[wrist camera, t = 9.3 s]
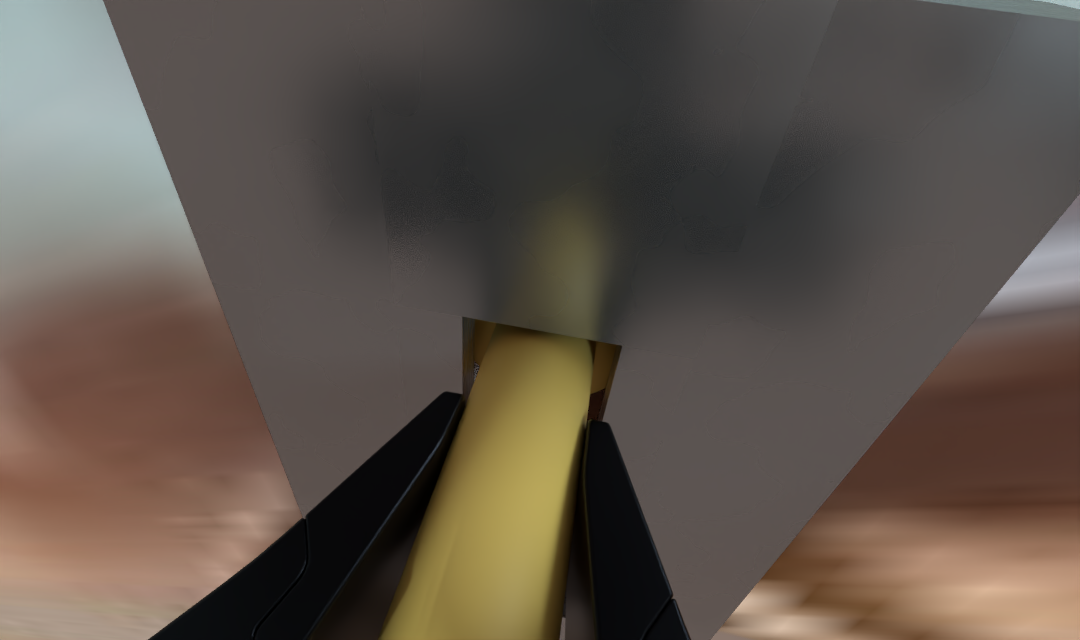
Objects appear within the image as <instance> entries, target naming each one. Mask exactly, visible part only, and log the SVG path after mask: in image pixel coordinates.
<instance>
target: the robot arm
mask: <svg viewBox="0 0 1080 640" xmlns="http://www.w3.org/2000/svg"><path fill="white" fill-rule="evenodd" d="M464 408H465V396H464V395H463V394H460V393H454V392H449V391H445V392H443V393H441V394H440V395H439V396H438V397H437V398H436V399H435V400H433V401H432V402H431V403H430V404H429V405H428V406H427V407H426V408H425V409H423V410H422V411H421V412H420V413H419V414H418V415H417V416H416V417H414V418H413V419H412V420H411V421H410V422H409V423H408V424H407V425H406V426H404V427H403V428H402V429H401V430H400V431H399V432H398V433H397V434H395V435H394V436H393V437H392V438H391V439H390V440H389V441H388V442H387V443H385V444H384V445H383V446H382V447H381V448H380V449H379V450H378V451H376V452H375V453H374V454H373V455H372V456H371V457H370V458H369V459H368V460H366V461H365V462H364V463H363V464H362V465H361V466H360V467H359V468H358V469H356V470H355V471H354V472H353V473H352V474H351V475H350V476H349V477H347V478H346V479H345V480H344V481H343V482H342V483H341V484H340V485H339V486H337V487H336V488H335V489H334V490H333V491H332V492H331V493H330V494H328V495H327V496H326V497H325V498H324V499H323V500H322V501H321V502H320V503H318V504H317V505H316V506H315V507H314V508H313V509H312V510H311V511H309V512H308V513H307V514H306V515H305V519H304V518H302V519H300V520H299V521H298V522H297V523H296V524H295V525H294V526H292V527H291V528H290V529H289V530H288V531H287V532H286V533H285V534H284V535H282V536H281V537H280V538H279V539H278V540H277V541H275V542H274V543H273V544H272V545H271V546H270V547H268V548H267V549H266V550H265V551H264V552H262V553H261V554H260V555H259V556H258V557H257V558H255V559H254V560H253V561H251V562H250V563H249V564H248V565H246V566H245V567H244V568H242V569H241V570H240V571H239V572H237V573H236V574H235V575H233V576H232V577H231V578H230V579H228V580H227V581H226V582H224V583H223V584H222V585H220V586H219V587H218V588H216V589H215V590H214V591H212V592H211V593H210V594H208V595H207V596H206V597H204V598H203V599H202V600H200V601H199V602H198V603H196V604H195V605H194V606H192V607H191V608H190V609H188V610H187V611H186V612H184V613H183V614H182V615H180V616H179V617H178V618H176V619H175V620H174V621H172V622H171V623H170V624H168V625H167V626H166V627H164V628H163V629H162V630H160V631H159V632H158V633H156V634H155V635H154V636H152V637H151V638H150V639H148V640H377V639H378V637H379V634H380V631H381V629H382V626H383V624H384V621H385V618H386V616H387V613H388V610H389V608H390V605H391V602H392V600H393V597H394V594H395V592H396V589H397V586H398V584H399V581H400V578H401V576H402V573H403V570H404V568H405V565H406V562H407V560H408V557H409V554H410V552H411V549H412V546H413V544H414V541H415V538H416V536H417V533H418V530H419V528H420V525H421V522H422V520H423V517H424V514H425V512H426V509H427V506H428V504H429V501H430V498H431V496H432V493H433V491H434V488H435V485H436V483H437V480H438V477H439V475H440V472H441V469H442V467H443V464H444V461H445V459H446V456H447V453H448V451H449V448H450V445H451V443H452V440H453V437H454V435H455V432H456V429H457V427H458V424H459V421H460V419H461V416H462V413H463V411H464ZM673 596H674V594H673V591H672V589H671V586H670V583H669V581H668V578H667V575H666V573H665V570H664V567H663V565H662V562H661V559H660V557H659V554H658V551H657V549H656V546H655V543H654V541H653V538H652V535H651V533H650V530H649V527H648V525H647V522H646V519H645V517H644V514H643V511H642V509H641V506H640V503H639V501H638V498H637V495H636V493H635V490H634V487H633V485H632V482H631V479H630V476H629V474H628V471H627V468H626V466H625V463H624V460H623V458H622V455H621V452H620V450H619V447H618V444H617V442H616V439H615V436H614V434H613V431H612V428H611V426H610V424H609V423H607V422H604V421H598V420H593V419H590V420H588V422H587V425H586V429H585V435H584V443H583V451H582V459H581V467H580V475H579V483H578V492H577V503H576V511H575V519H574V527H573V535H572V543H571V552H570V560H569V568H568V576H567V587H566V619H565V640H691V638H690V635H689V633H688V630H687V628H686V625H685V623H684V620H683V617H682V615H681V612H680V609H679V607H678V604H677V601H676V600H675V599H672V598H673Z"/></svg>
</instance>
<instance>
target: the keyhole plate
mask: <svg viewBox="0 0 1080 640" xmlns="http://www.w3.org/2000/svg"><path fill="white" fill-rule="evenodd" d="M103 1H104V4H105V6H106V9H107V12H108V14H109V17H110V19H111V22H112V25H113V27H114V30H115V32H116V35H117V38H118V40H119V43H120V45H121V48H122V50H123V53H124V56H125V58H126V61H127V63H128V66H129V69H130V71H131V74H132V76H133V79H134V82H135V84H136V87H137V89H138V92H139V95H140V97H141V100H142V102H143V105H144V107H145V110H146V113H147V115H148V118H149V120H150V123H151V126H152V128H153V131H154V133H155V136H156V139H157V141H158V144H159V146H160V149H161V151H162V154H163V157H164V159H165V162H166V164H167V167H168V170H169V172H170V175H171V177H172V180H173V183H174V185H175V188H176V190H177V193H178V195H179V198H180V201H181V203H182V206H183V208H184V211H185V214H186V216H187V219H188V221H189V224H190V227H191V229H192V232H193V234H194V237H195V239H196V242H197V245H198V247H199V250H200V252H201V255H202V258H203V260H204V263H205V265H206V268H207V271H208V273H209V276H210V278H211V281H212V284H213V286H214V289H215V291H216V294H217V296H218V299H219V302H220V304H221V307H222V309H223V312H224V315H225V317H226V320H227V322H228V325H229V328H230V330H231V333H232V335H233V338H234V340H235V343H236V346H237V348H238V351H239V353H240V356H241V359H242V361H243V364H244V366H245V369H246V372H247V374H248V377H249V379H250V382H251V384H252V387H253V390H254V392H255V395H256V397H257V400H258V403H259V405H260V408H261V410H262V413H263V416H264V418H265V421H266V423H267V426H268V428H269V431H270V434H271V436H272V439H273V441H274V444H275V447H276V449H277V452H278V454H279V457H280V460H281V462H282V465H283V467H284V470H285V473H286V475H287V478H288V480H289V483H290V485H291V488H292V491H293V493H294V496H295V498H296V501H297V504H298V506H299V509H300V511H301V514H302V517H303V518H304V519H305V515H306V514H307V513H308V512H309V511H311V510H312V509H313V508H314V507H315V506H316V505H317V504H318V503H320V502H321V501H322V500H323V499H324V498H325V497H326V496H327V495H328V494H330V493H331V492H332V491H333V490H334V489H335V488H336V487H337V486H339V485H340V484H341V483H342V482H343V481H344V480H345V479H346V478H347V477H349V476H350V475H351V474H352V473H353V472H354V471H355V470H356V469H358V468H359V467H360V466H361V465H362V464H363V463H364V462H365V461H366V460H368V459H369V458H370V457H371V456H372V455H373V454H374V453H375V452H376V451H378V450H379V449H380V448H381V447H382V446H383V445H384V444H385V443H387V442H388V441H389V440H390V439H391V438H392V437H393V436H394V435H395V434H397V433H398V432H399V431H400V430H401V429H402V428H403V427H404V426H406V425H407V424H408V423H409V422H410V421H411V420H412V419H413V418H414V417H416V416H417V415H418V414H419V413H420V412H421V411H422V410H423V409H425V408H426V407H427V406H428V405H429V404H430V403H431V402H432V401H433V400H435V399H436V398H437V397H438V396H439V395H440V394H441V393H443V392H445V391H449V392H454V393H460V394H463V395H464V396H465V405H466V403H467V400H468V397H469V395H470V392H471V389H472V387H473V384H474V350H475V319H478V320H484V321H489V322H495V323H500V324H506V325H511V326H517V327H522V328H528V329H533V330H538V331H544V332H549V333H555V334H560V335H566V336H571V337H577V338H582V339H588V340H593V341H599V342H604V343H610V344H615V345H617V346H616V349H615V353H614V357H613V361H612V365H611V369H610V373H609V377H608V381H607V384H606V388H605V392H604V396H603V400H602V404H601V408H600V412H599V416H598V421H604V422H607V423H609V424H610V426H611V428H612V431H613V434H614V436H615V439H616V442H617V444H618V447H619V450H620V452H621V455H622V458H623V460H624V463H625V466H626V468H627V471H628V474H629V476H630V479H631V482H632V485H633V487H634V490H635V493H636V495H637V498H638V501H639V503H640V506H641V509H642V511H643V514H644V517H645V519H646V522H647V525H648V527H649V530H650V533H651V535H652V538H653V541H654V543H655V546H656V549H657V551H658V554H659V557H660V559H661V562H662V565H663V567H664V570H665V573H666V575H667V578H668V581H669V583H670V586H671V589H672V591H673V594H674V596H673V598H672V599H675V600H676V601H677V604H678V607H679V609H680V612H681V615H682V617H683V620H684V623H685V625H686V628H687V630H688V633H689V635H690V638H691V640H711V638H712V637H713V636H714V635H715V633H716V632H717V631H718V630H719V629H720V627H721V626H722V625H723V624H724V623H725V621H726V620H727V619H728V618H729V617H730V615H731V614H732V613H733V612H734V611H735V609H736V608H737V607H738V606H739V605H740V603H741V602H742V601H743V600H744V598H745V597H746V596H747V595H748V594H749V592H750V591H751V590H752V589H753V588H754V586H755V585H756V584H757V583H758V582H759V580H760V579H761V578H762V577H763V576H764V574H765V573H766V572H767V571H768V569H769V568H770V567H771V566H772V565H773V563H774V562H775V561H776V560H777V559H778V557H779V556H780V555H781V554H782V553H783V551H784V550H785V549H786V548H787V547H788V545H789V544H790V543H791V542H792V541H793V539H794V538H795V537H796V536H797V534H798V533H799V532H800V531H801V530H802V528H803V527H804V526H805V525H806V524H807V522H808V521H809V520H810V519H811V518H812V516H813V515H814V514H815V513H816V512H817V510H818V509H819V508H820V507H821V505H822V504H823V503H824V502H825V501H826V499H827V498H828V497H829V496H830V495H831V493H832V492H833V491H834V490H835V489H836V487H837V486H838V485H839V484H840V483H841V481H842V480H843V479H844V478H845V476H846V475H847V474H848V473H849V472H850V470H851V469H852V468H853V467H854V466H855V464H856V463H857V462H858V461H859V460H860V458H861V457H862V456H863V455H864V454H865V452H866V451H867V450H868V449H869V448H870V446H871V445H872V444H873V443H874V441H875V440H876V439H877V438H878V437H879V435H880V434H881V433H882V432H883V431H884V429H885V428H886V427H887V426H888V425H889V423H890V422H891V421H892V420H893V419H894V417H895V416H896V415H897V414H898V412H899V411H900V410H901V409H902V408H903V406H904V405H905V404H906V403H907V402H908V400H909V399H910V398H911V397H912V396H913V394H914V393H915V392H916V391H917V390H918V388H919V387H920V386H921V385H922V383H923V382H924V381H925V380H926V379H927V377H928V376H929V375H930V374H931V373H932V371H933V370H934V369H935V368H936V367H937V365H938V364H939V363H940V362H941V361H942V359H943V358H944V357H945V356H946V355H947V353H948V352H949V351H950V350H951V348H952V347H953V346H954V345H955V344H956V342H957V341H958V340H959V339H960V338H961V336H962V335H963V334H964V333H965V332H966V330H967V329H968V328H969V327H970V326H971V324H972V323H973V322H974V321H975V319H976V318H977V317H978V316H979V315H980V313H981V312H982V311H983V310H984V309H985V307H986V306H987V305H988V304H989V303H990V301H991V300H992V299H993V298H994V297H995V295H996V294H997V293H998V292H999V290H1000V289H1001V288H1002V287H1003V286H1004V284H1005V283H1006V282H1007V281H1008V280H1009V278H1010V277H1011V276H1012V275H1013V274H1014V272H1015V271H1016V270H1017V269H1018V268H1019V266H1020V265H1021V264H1022V263H1023V261H1024V260H1025V259H1026V258H1027V257H1028V255H1029V254H1030V253H1031V252H1032V251H1033V249H1034V248H1035V247H1036V246H1037V245H1038V243H1039V242H1040V241H1041V240H1042V239H1043V237H1044V236H1045V235H1046V234H1047V233H1048V231H1049V230H1050V229H1051V228H1052V226H1053V225H1054V224H1055V223H1056V222H1057V220H1058V219H1059V218H1060V217H1061V216H1062V214H1063V213H1064V212H1065V211H1066V210H1067V208H1068V207H1069V206H1070V205H1071V204H1072V202H1073V201H1074V200H1075V199H1076V197H1077V196H1078V195H1079V194H1080V9H1076V8H1071V7H1067V6H1062V5H1058V4H1053V3H1049V2H1042V1H1034V0H103ZM566 587H567V584H566ZM565 619H566V592H565V600H564V608H563V616H562V624H561V632H560V640H565Z"/></svg>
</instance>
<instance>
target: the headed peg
mask: <svg viewBox="0 0 1080 640" xmlns="http://www.w3.org/2000/svg"><path fill="white" fill-rule="evenodd" d="M616 346H617V345H615V344H610V343H604V342H599V341H593V340H588V339H582V338H577V337H571V336H566V335H560V334H555V333H549V332H544V331H538V330H533V329H528V328H522V327H517V326H511V325H506V324H500V323H495V322H489V321H484V320H478V319H475V350H474V361H475V362H476V363H477V364H478V365H479V366H480V368H479V371H478V373H477V376H476V379H475V381H474V384H473V387H472V389H471V392H470V395H469V397H468V400H467V403H466V405H465V408H464V411H463V413H462V416H461V419H460V421H459V424H458V427H457V429H456V432H455V435H454V437H453V440H452V443H451V445H450V448H449V451H448V453H447V456H446V459H445V461H444V464H443V467H442V469H441V472H440V475H439V477H438V480H437V483H436V485H435V488H434V491H433V493H432V496H431V498H430V501H429V504H428V506H427V509H426V512H425V514H424V517H423V520H422V522H421V525H420V528H419V530H418V533H417V536H416V538H415V541H414V544H413V546H412V549H411V552H410V554H409V557H408V560H407V562H406V565H405V568H404V570H403V573H402V576H401V578H400V581H399V584H398V586H397V589H396V592H395V594H394V597H393V600H392V602H391V605H390V608H389V610H388V613H387V616H386V618H385V621H384V624H383V626H382V629H381V631H380V634H379V637H378V639H377V640H560V632H561V624H562V616H563V608H564V600H565V592H566V584H567V576H568V568H569V560H570V552H571V543H572V535H573V527H574V519H575V511H576V503H577V492H578V483H579V475H580V467H581V459H582V451H583V443H584V435H585V429H586V423H587V415H588V407H589V399H590V394H592V393H595V392H598V391H600V390H602V389H604V388H606V384H607V381H608V377H609V373H610V369H611V365H612V361H613V357H614V353H615V349H616Z"/></svg>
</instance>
